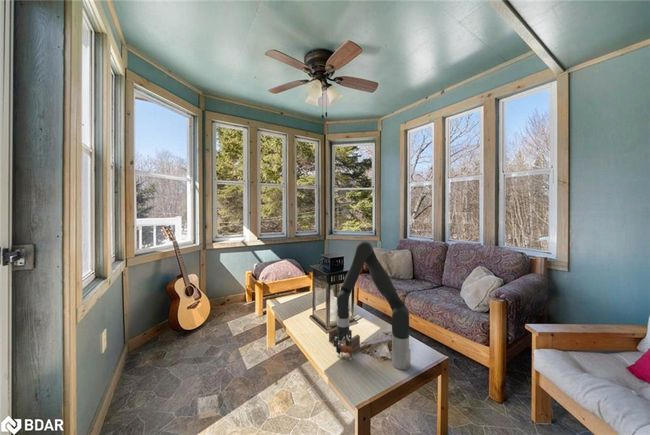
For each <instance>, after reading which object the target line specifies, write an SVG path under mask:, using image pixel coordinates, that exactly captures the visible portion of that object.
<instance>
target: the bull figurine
mask: <svg viewBox="0 0 650 435" xmlns="http://www.w3.org/2000/svg"><path fill="white" fill-rule="evenodd" d="M339 342H340V341H339ZM338 345H339V343H338ZM354 352H355V350H354V348H353V347H350V346H346V345H343V344H341V345H340V353H338V355H337V357H338V358H339V357H340V355H341V356H343V355H344V354H345V355H347V354H348V356H347V357H348V358H349V361H351V360H352V358H353V356H354Z"/></svg>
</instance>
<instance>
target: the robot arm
mask: <svg viewBox="0 0 650 435" xmlns="http://www.w3.org/2000/svg"><path fill="white" fill-rule="evenodd" d="M355 247H356V248H355V253H354V257H353V260H352V262H351V265H350V267H349V269H348V271H347V273H346V276H345V277H344V280H343V282H342V285H341V287H340V288H339V290H338V293H337V296H336V305H337V309H336V310H337V312H336V313H337V317H336V327H337V332H338V336H337V337H336V336H334V344H333V347H335V348H336V349H335V351H336V353H337V354H339V353H340V345H341V344H342V342H343V341H344V340H346V346H349V341H350V339H352V338H353V336H352V329H350V309H349V307H350V306H349V304H350V302H349V300H350V296H351V294H352V292H353V290H354V288H355V287H356V284H357V281H358V279H359V276H360V273H361V270H362V269H363V266H364V265H365V264H366V266H367V269H368V271H369V275H370V276H371V277H370V278H371V280H372V282H373V283H374V285H375V287H376V289H377V290H378V292H379V293H380V294H381V295H382V296H383V298H384V299H385V300H386V301H387V303H388V304H389V307H390V310H391V312H392V313H391V335H392V337H391V344H392V345H391V349H392V350H391V357H392V358H391V364H392V366H393V368H395V369H399V370H404V371H407V370H408V369H409V368H410V366H411V348H410V311H409V309H408V308H407V306H406V305H405V303H404V302H403V301H402V299H401V298H400V296H399V294H398V292H397V289H396V288H395V286H394V284H393V282H392V280H391V278H390V277H389V275H388V273H387V272H386V270H385V268H384V267H383V265H382V264H381V263H380V260H379V259H378V258H377V256H376V252H375V250H374V247H373V246H372V244H371V243H370V242H368V241H360V242H359V243H358V244H357V245H356V246H355ZM339 340H340V341H341V342H339ZM338 343H339V345H338ZM340 354H341V353H340Z"/></svg>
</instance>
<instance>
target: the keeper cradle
mask: <svg viewBox="0 0 650 435" xmlns="http://www.w3.org/2000/svg"><path fill="white" fill-rule="evenodd" d="M334 336H336V337H337V336H338V332H337V326H335V327H333V328H331V329H330V330H329V331H328V342H329V343H332V345H334ZM339 341H340V340H339ZM340 342H341V341H340ZM342 344H343V345H346V340H344V341H343V342H342ZM349 346H350V347H353V348H354V351H356V350H357V349H359V348H360V346H361V335H359V334H356V335H354V336H352V339H350V341H349Z"/></svg>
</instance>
